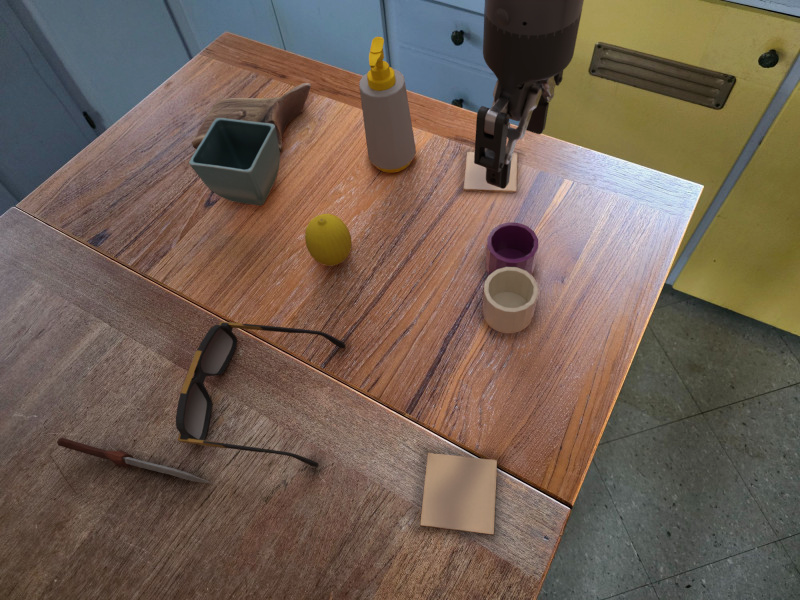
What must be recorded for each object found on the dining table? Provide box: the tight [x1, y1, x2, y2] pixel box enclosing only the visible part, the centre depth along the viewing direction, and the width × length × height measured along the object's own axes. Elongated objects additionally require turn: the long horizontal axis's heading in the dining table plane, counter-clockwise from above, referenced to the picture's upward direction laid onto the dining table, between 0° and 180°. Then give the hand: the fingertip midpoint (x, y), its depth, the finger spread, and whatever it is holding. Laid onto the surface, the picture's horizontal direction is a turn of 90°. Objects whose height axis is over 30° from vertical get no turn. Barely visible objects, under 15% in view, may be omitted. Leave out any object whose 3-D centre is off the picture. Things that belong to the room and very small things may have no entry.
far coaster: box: [463, 151, 518, 193], centre depth 76 cm, size 7×7×1 cm
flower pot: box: [188, 118, 281, 206], centre depth 75 cm, size 9×9×9 cm
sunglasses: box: [175, 321, 346, 468], centre depth 60 cm, size 14×15×5 cm
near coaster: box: [419, 452, 498, 536], centre depth 54 cm, size 7×7×1 cm
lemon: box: [304, 213, 353, 267], centre depth 67 cm, size 6×6×8 cm
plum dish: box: [485, 221, 539, 277], centre depth 66 cm, size 6×6×5 cm
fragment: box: [191, 82, 312, 154], centre depth 84 cm, size 13×16×5 cm
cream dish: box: [482, 267, 539, 334], centre depth 62 cm, size 6×6×5 cm
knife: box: [56, 437, 216, 485], centre depth 58 cm, size 18×2×3 cm, turn 76°
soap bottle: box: [358, 36, 417, 174], centre depth 71 cm, size 7×7×18 cm
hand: (515, 156), depth 57 cm, fingers open, 8 cm apart
